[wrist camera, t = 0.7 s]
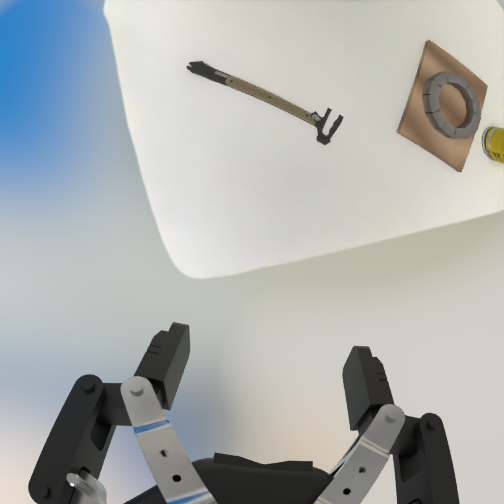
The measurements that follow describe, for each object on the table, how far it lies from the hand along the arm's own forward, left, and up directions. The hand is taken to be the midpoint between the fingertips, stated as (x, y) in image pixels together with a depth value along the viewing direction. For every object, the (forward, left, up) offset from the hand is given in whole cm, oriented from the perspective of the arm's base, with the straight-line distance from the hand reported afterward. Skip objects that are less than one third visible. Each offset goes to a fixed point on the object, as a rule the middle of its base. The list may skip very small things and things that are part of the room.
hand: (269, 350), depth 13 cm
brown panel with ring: (-23, +18, -27) cm, 40 cm away
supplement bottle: (-23, +29, -27) cm, 46 cm away
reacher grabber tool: (-14, -6, -28) cm, 32 cm away
